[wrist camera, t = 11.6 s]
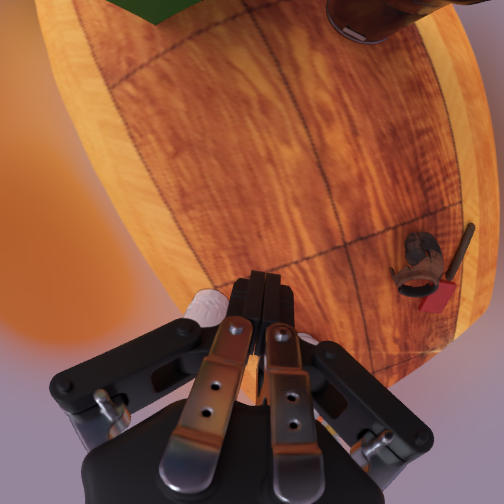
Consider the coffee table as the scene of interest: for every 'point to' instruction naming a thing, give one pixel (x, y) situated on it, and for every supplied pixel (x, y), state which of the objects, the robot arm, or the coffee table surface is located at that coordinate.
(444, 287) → the spatula
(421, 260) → the dark brown curved piece
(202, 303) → the white cup
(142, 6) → the hardback book
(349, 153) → the coffee table surface
